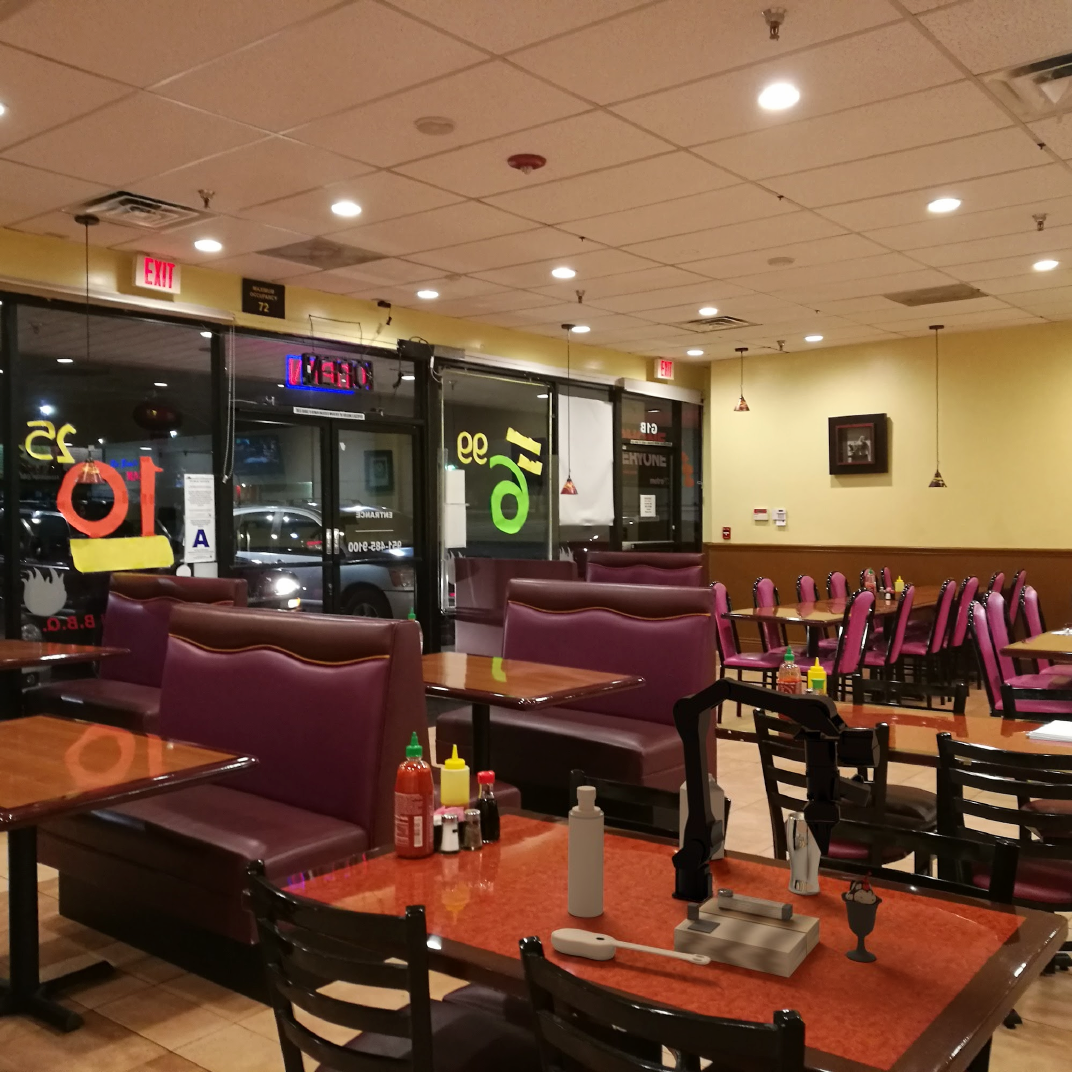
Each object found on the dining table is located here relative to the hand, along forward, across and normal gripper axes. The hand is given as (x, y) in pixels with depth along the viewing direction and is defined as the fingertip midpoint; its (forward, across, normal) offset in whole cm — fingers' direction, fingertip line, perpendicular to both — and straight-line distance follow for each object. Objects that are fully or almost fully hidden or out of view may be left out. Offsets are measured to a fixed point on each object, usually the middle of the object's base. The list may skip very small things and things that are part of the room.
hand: (826, 848), depth 194 cm
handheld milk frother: (+12, -30, +32) cm, 45 cm away
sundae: (+14, -15, -6) cm, 22 cm away
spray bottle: (+11, -10, +44) cm, 47 cm away
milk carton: (+12, +32, +29) cm, 44 cm away
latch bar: (+8, -12, +13) cm, 19 cm away
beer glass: (+13, +16, +6) cm, 22 cm away
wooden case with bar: (+13, -17, +13) cm, 25 cm away
